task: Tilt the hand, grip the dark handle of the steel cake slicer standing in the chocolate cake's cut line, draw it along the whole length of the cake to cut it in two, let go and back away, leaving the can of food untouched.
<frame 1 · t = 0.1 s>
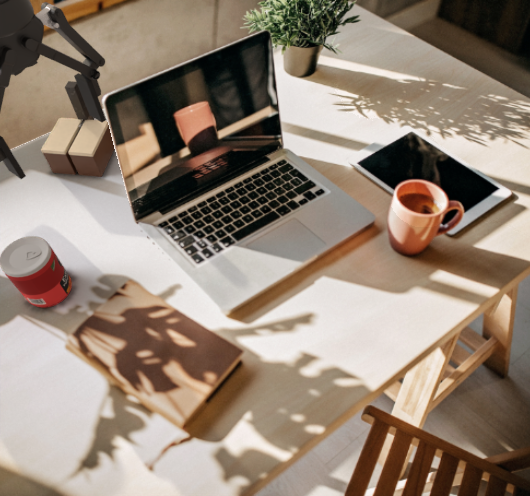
hand: (59, 144, 67), 29 cm above the table, tool pointing down, fingers open, 13 cm apart
slicer: (82, 113, 104), point 8 cm above the table, slide at 0.0 cm
canned food: (51, 290, 88), on the table
cake: (85, 159, 107), on the table
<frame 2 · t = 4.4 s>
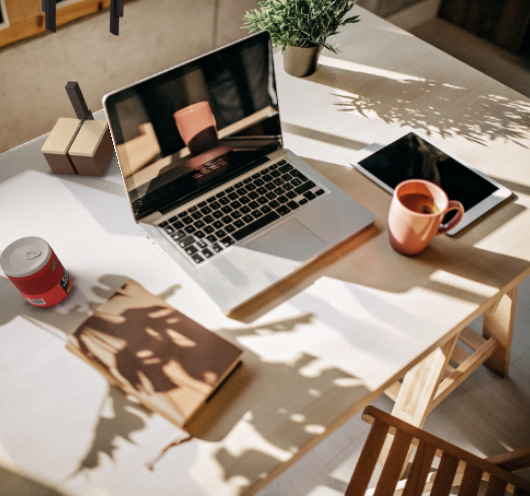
hand: (82, 32, 100), 20 cm above the table, tool tilted 45°, fingers open, 13 cm apart
nothing on the table moved.
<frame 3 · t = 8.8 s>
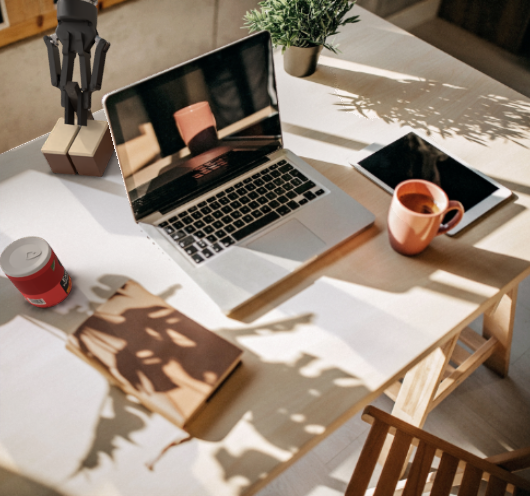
hand: (75, 124, 101), 8 cm above the table, tool tilted 45°, fingers closed on slicer, 2 cm apart
slicer: (82, 113, 104), point 8 cm above the table, slide at 0.0 cm, touching gripper
everything else where it was.
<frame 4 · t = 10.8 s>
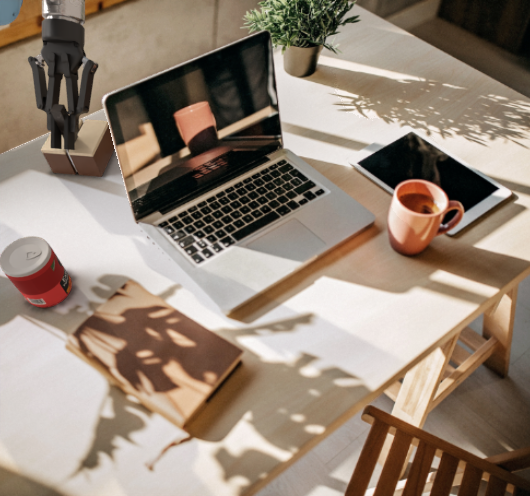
hand: (62, 148, 97), 8 cm above the table, tool tilted 45°, fingers closed on slicer, 2 cm apart
slicer: (70, 136, 99), point 8 cm above the table, slide at 7.2 cm, touching gripper
everything else where it was.
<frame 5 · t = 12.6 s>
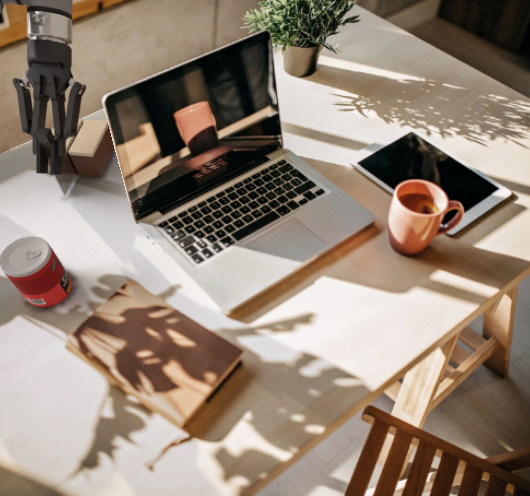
hand: (49, 173, 93), 8 cm above the table, tool tilted 45°, fingers closed on slicer, 2 cm apart
slicer: (57, 159, 95), point 8 cm above the table, slide at 13.9 cm, touching gripper
everything else where it was.
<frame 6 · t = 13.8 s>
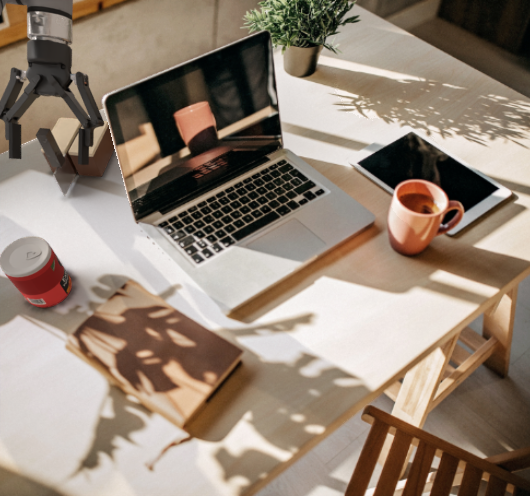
hand: (49, 161, 93), 10 cm above the table, tool tilted 45°, fingers open, 13 cm apart
slicer: (57, 160, 95), point 8 cm above the table, slide at 14.0 cm
everything else where it was.
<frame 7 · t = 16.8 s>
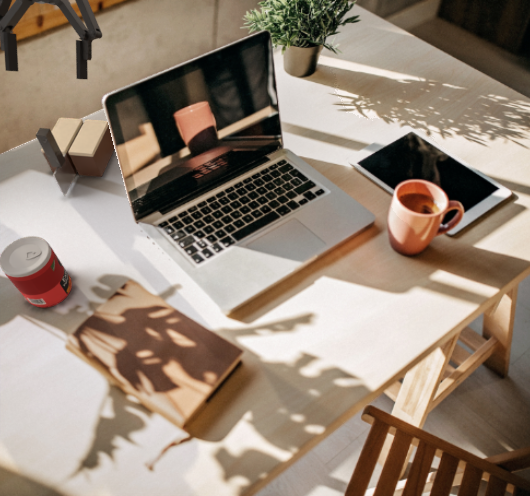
hand: (46, 75, 91), 20 cm above the table, tool tilted 35°, fingers open, 13 cm apart
nothing on the table moved.
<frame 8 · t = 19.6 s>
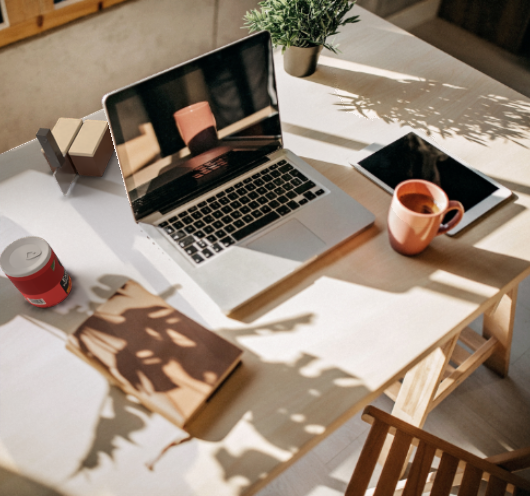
nothing on the table moved.
at the end: slicer slide at 14.0 cm; canned food moved 0.2 cm from its start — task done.
